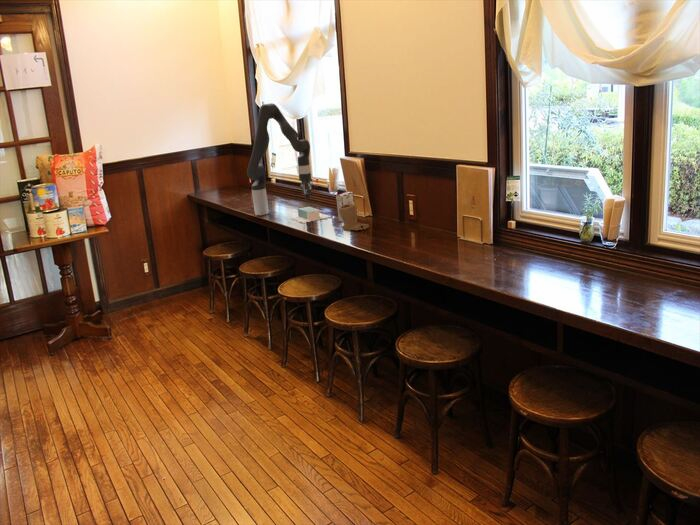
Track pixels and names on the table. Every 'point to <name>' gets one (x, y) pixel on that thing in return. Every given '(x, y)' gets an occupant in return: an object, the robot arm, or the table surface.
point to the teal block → (308, 213)
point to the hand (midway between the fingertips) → (307, 199)
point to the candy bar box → (344, 201)
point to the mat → (303, 220)
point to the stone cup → (350, 217)
